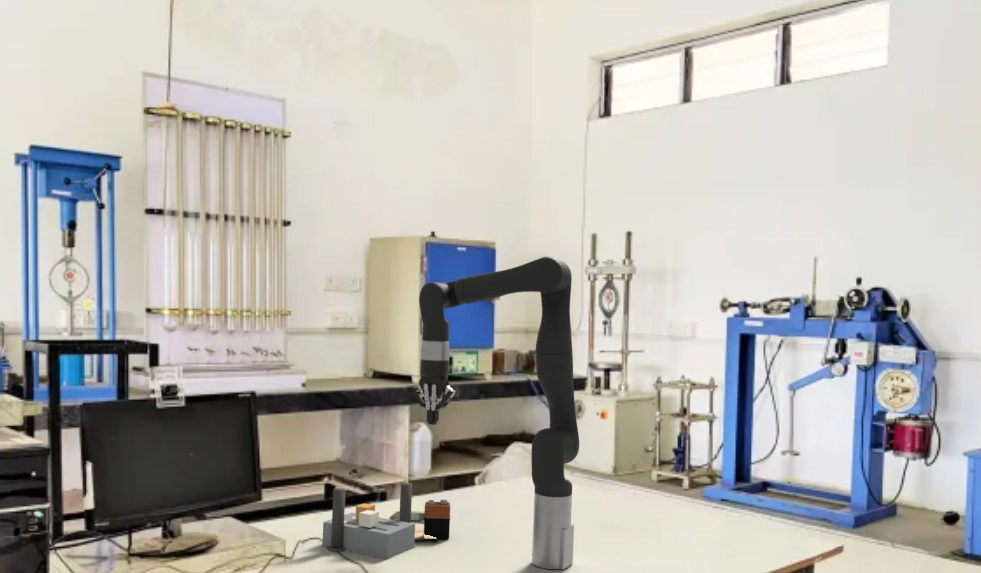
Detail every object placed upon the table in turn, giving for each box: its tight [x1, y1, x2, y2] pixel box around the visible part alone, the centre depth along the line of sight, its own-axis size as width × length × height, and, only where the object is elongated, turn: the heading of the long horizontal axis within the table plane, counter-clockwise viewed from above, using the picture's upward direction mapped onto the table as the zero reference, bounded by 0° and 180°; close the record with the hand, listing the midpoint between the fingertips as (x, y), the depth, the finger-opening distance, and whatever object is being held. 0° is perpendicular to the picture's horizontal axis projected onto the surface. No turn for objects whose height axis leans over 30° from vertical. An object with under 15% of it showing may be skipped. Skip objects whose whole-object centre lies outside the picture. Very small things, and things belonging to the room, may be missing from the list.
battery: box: [423, 499, 451, 541], centre depth 224 cm, size 4×7×10 cm, turn 93°
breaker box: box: [322, 512, 416, 560], centre depth 214 cm, size 20×12×6 cm, turn 63°
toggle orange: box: [355, 503, 376, 519], centre depth 217 cm, size 4×4×3 cm
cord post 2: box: [398, 482, 413, 523], centre depth 219 cm, size 4×4×15 cm
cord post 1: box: [327, 487, 346, 553], centre depth 210 cm, size 4×4×15 cm
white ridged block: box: [359, 510, 380, 528], centre depth 210 cm, size 4×4×3 cm
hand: (432, 424), depth 219 cm, fingers closed
